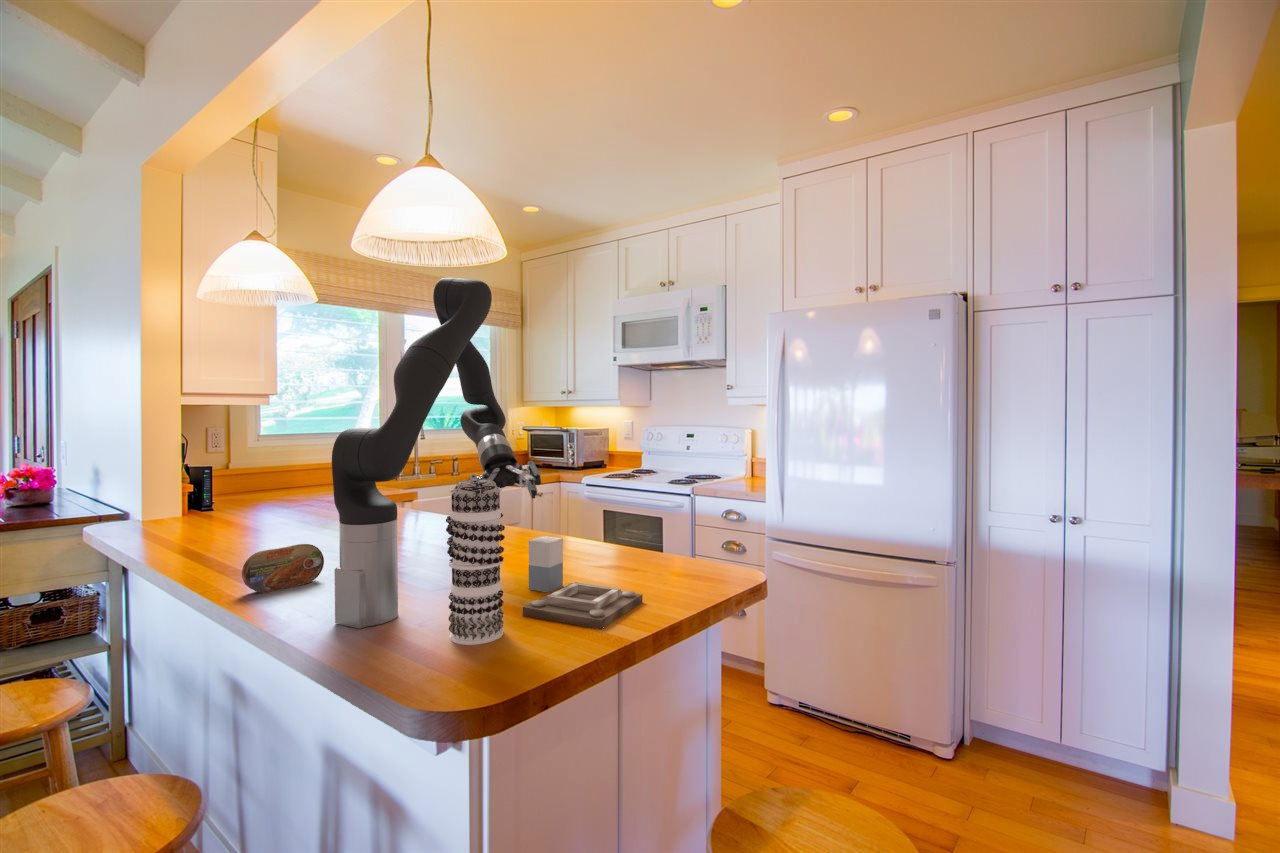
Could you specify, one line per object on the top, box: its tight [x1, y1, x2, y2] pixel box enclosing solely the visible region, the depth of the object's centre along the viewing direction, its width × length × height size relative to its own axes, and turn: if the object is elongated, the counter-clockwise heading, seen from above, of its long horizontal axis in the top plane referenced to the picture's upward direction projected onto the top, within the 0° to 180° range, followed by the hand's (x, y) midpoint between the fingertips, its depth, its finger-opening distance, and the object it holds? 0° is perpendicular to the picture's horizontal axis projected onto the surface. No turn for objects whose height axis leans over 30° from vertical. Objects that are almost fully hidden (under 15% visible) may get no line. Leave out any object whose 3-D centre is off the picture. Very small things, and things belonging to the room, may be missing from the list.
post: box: [528, 535, 564, 593], centre depth 124 cm, size 5×5×10 cm
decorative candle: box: [445, 479, 506, 646], centre depth 97 cm, size 9×9×25 cm
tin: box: [241, 543, 325, 594], centre depth 125 cm, size 15×3×8 cm, turn 143°
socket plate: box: [522, 581, 643, 630], centre depth 111 cm, size 16×16×3 cm
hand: (513, 500), depth 123 cm, fingers open, 8 cm apart
